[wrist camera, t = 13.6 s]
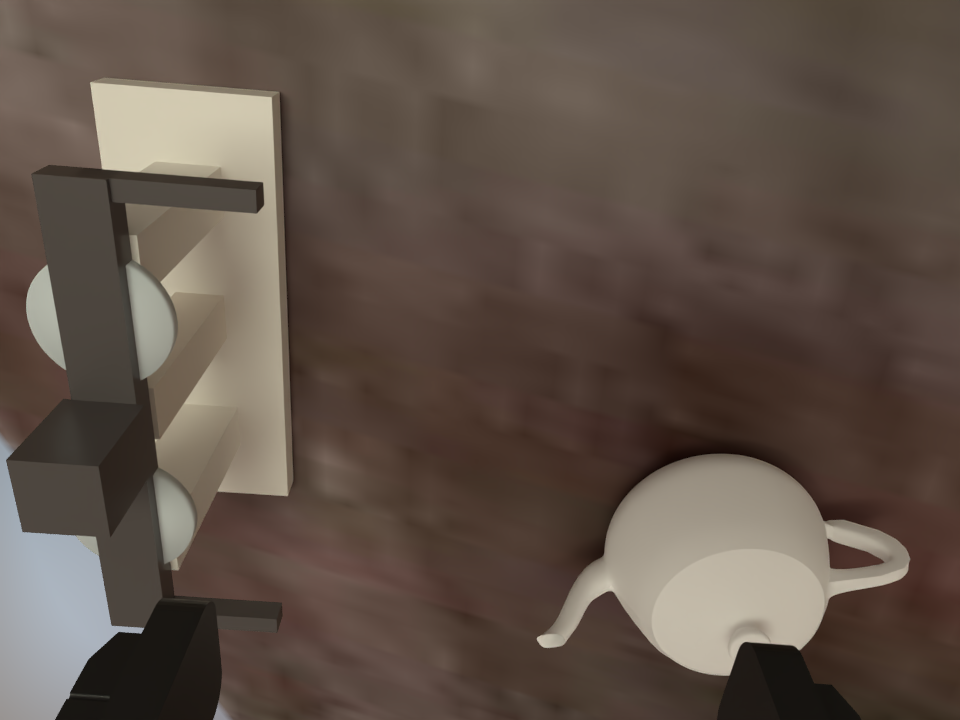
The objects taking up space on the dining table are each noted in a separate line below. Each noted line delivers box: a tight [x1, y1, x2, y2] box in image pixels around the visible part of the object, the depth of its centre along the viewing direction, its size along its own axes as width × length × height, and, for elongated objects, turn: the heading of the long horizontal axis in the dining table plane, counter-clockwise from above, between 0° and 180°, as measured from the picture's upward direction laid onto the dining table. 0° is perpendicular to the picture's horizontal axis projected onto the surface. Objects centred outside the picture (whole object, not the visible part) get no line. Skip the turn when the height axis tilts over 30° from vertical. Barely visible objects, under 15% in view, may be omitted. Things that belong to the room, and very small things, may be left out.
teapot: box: [537, 454, 910, 676], centre depth 44 cm, size 20×12×10 cm, turn 102°
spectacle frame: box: [6, 165, 282, 633], centre depth 29 cm, size 20×9×5 cm, turn 175°
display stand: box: [90, 78, 293, 570], centre depth 37 cm, size 22×8×12 cm, turn 176°
